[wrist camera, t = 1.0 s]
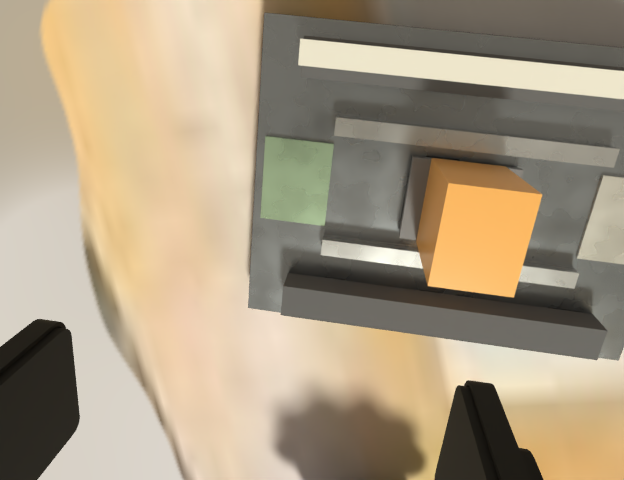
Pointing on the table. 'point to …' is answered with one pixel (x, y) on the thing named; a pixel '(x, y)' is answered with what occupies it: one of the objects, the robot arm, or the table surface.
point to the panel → (435, 144)
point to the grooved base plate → (436, 306)
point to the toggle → (469, 223)
